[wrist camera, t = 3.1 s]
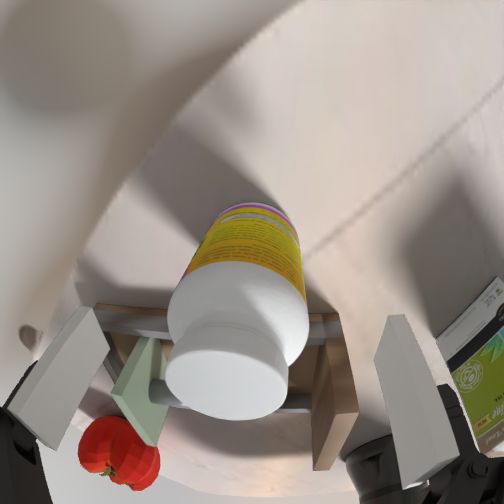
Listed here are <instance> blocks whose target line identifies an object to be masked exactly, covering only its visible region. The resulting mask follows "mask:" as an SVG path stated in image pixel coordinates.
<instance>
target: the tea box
mask: <svg viewBox="0 0 504 504" xmlns="http://www.w3.org/2000/svg"><path fill="white" fill-rule="evenodd" d="M436 344H437V346H438V348H439V350H440V352H441V354H442V357H443V359H444V361H445V363H446V365H447V367H448V368H449V371H450V374H451V376H452V378H453V381H454V383H455V385H456V387H457V389H458V392H459V394H460V397H461V400H462V402H463V405H464V408H465V410H466V413H467V415H468V417H469V420H470V423H471V426H472V429H473V432H474V435H475V438H476V441H477V444H478V447H479V450H480V453H483V454H484V455H486V456H487V457H504V282H503V281H502V280H501V279H500V278H499V277H497V278H496V279H495V280H494V281H493V282H492V283H491V284H490V285H489V286H488V287H487V288H486V289H485V291H484V292H483V293H482V294H481V295H480V296H479V297H478V298H477V299H476V300H475V301H474V302H473V303H472V304H471V305H470V306H469V307H468V308H467V309H466V310H465V311H464V313H463V314H461V315H460V316H459V317H458V318H457V319H456V320H455V321H454V322H453V323H452V324H451V325H450V326H449V327H448V328H447V329H446V330H445V331H444V332H443V333H442V334H441V335H440V336H439V337H437V338H436Z"/></svg>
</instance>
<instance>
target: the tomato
mask: <svg viewBox="0 0 504 504" xmlns="http://www.w3.org/2000/svg"><path fill="white" fill-rule="evenodd" d="M78 457H79V461H80V464H81V465H82V466H83V468H85V469H86V470H87V471H89V472H90V473H100V472H104V473H103V474H101V476H106V475H109V477H110V479H111V480H112V482H115V483H117V484H120V485H121V484H126V485H128V486H129V487H130V488H131V489H132V490H133V491H142V490H144V489H145V488H147V487H148V486H150V485H151V484H152V483H153V482H154V480H155V479H156V478H157V476H158V473H159V469H160V454H159V451H158V448H157V446H156V447H154V446H150V445H146V443H145V442H144V441H143V440H142V438H141V437H140V436H139V434H138V433H137V432H136V430H135V429H134V428H133V426H132V425H131V424H130V422H129V421H128V420H125V419H123V418H120V417H116V416H104V417H99V418H98V419H96V420H95V421H93V422H92V423H91V424H90V425H89V426H88V428H87V429H86V430H85V432H84V434H83V436H82V438H81V440H80V442H79V446H78Z"/></svg>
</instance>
